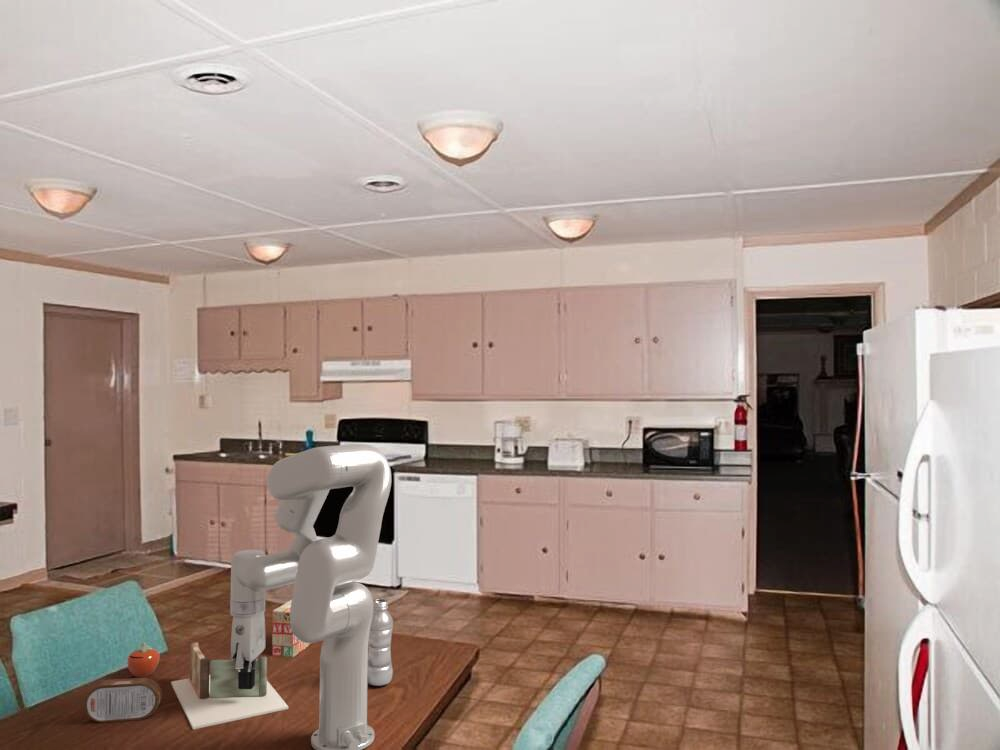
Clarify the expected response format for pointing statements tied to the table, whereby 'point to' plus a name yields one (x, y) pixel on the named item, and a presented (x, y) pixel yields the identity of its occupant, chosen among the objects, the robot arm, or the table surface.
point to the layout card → (223, 705)
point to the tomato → (143, 661)
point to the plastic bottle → (380, 645)
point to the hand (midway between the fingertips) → (246, 687)
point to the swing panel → (236, 679)
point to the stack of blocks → (284, 634)
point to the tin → (122, 700)
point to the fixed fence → (199, 670)
